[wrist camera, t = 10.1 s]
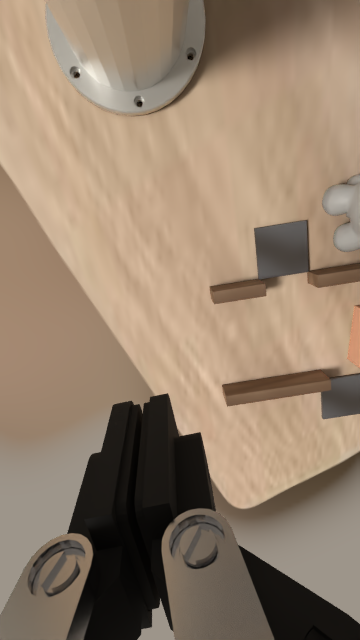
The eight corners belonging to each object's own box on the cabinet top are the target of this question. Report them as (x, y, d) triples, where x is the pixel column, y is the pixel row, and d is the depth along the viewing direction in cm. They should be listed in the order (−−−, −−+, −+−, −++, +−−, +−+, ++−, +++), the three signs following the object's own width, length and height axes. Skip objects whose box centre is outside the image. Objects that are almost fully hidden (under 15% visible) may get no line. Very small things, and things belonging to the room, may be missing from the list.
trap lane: (203, 236, 33) (206, 238, 31) (428, 201, 33) (448, 199, 31) (228, 432, 40) (232, 446, 37) (416, 403, 40) (432, 415, 37)
